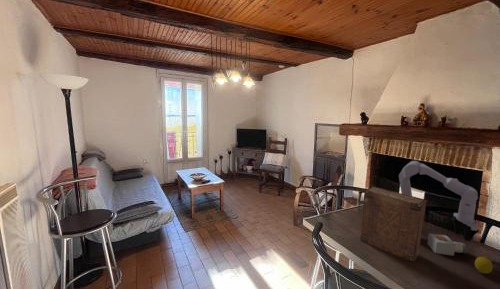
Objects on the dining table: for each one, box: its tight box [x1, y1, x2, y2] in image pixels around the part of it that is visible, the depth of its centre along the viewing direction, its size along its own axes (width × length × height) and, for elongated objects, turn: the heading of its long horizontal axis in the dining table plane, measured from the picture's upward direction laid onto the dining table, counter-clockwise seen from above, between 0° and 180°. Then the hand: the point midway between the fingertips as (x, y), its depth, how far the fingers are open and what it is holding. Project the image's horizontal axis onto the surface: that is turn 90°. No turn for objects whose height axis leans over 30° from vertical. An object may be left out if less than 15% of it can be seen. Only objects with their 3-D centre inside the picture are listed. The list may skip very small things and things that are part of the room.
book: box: [360, 186, 427, 264], centre depth 116 cm, size 25×9×30 cm, turn 41°
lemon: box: [474, 256, 493, 274], centre depth 99 cm, size 6×6×8 cm
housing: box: [427, 233, 456, 257], centre depth 116 cm, size 8×8×6 cm
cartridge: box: [453, 241, 469, 254], centre depth 115 cm, size 13×5×5 cm, turn 75°
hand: (462, 236), depth 113 cm, fingers open, 7 cm apart
